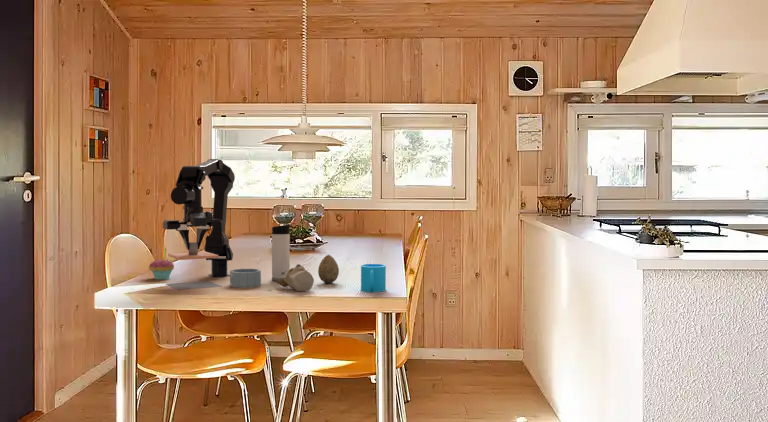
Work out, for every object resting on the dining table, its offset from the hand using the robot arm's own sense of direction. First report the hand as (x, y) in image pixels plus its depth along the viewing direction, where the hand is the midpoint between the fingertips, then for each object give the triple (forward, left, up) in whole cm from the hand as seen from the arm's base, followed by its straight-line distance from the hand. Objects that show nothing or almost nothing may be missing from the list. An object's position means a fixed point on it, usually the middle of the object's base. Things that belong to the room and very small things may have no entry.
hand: (193, 249), depth 238 cm
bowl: (+9, +15, -12) cm, 21 cm away
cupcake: (-20, -5, -13) cm, 24 cm away
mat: (0, 0, -12) cm, 12 cm away
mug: (+39, +47, -13) cm, 62 cm away
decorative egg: (+18, +42, -13) cm, 47 cm away
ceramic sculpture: (+23, +28, -13) cm, 38 cm away
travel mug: (+3, +31, -13) cm, 34 cm away
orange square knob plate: (0, 0, -2) cm, 2 cm away
